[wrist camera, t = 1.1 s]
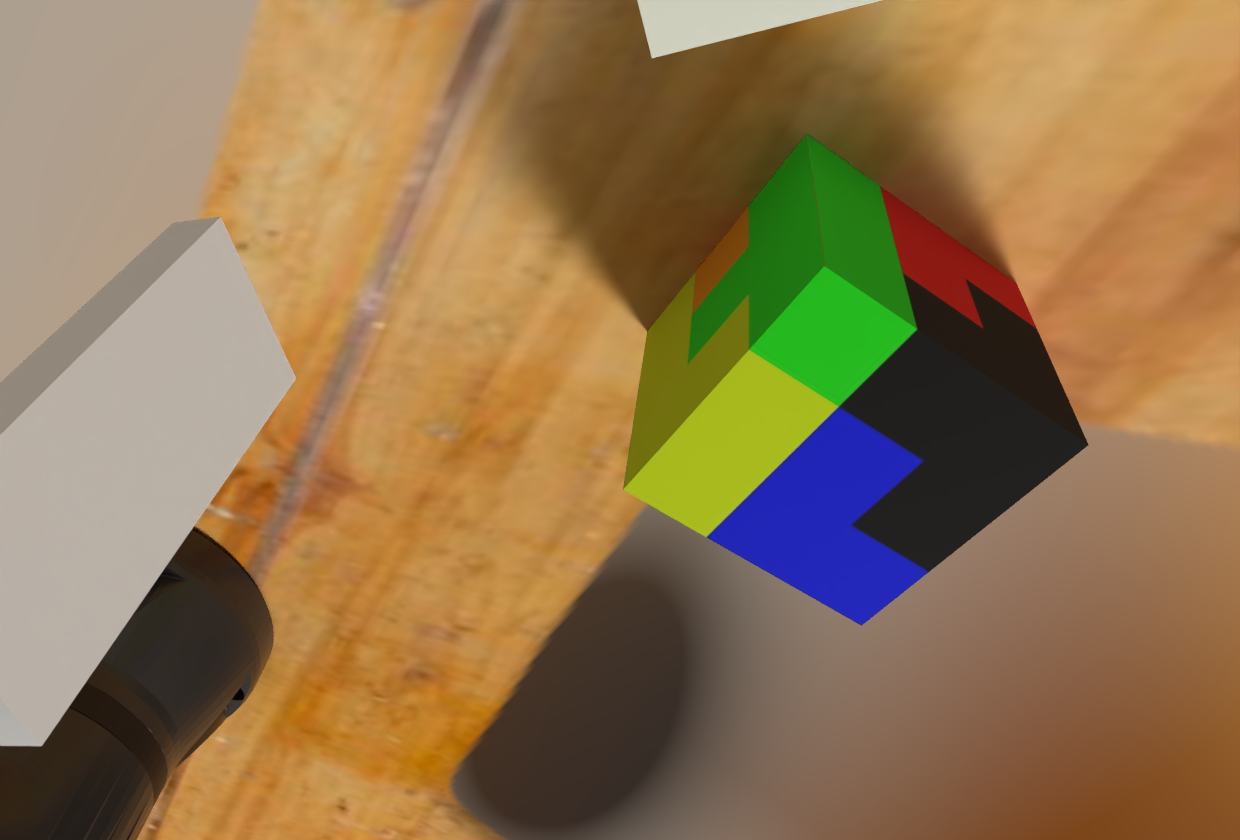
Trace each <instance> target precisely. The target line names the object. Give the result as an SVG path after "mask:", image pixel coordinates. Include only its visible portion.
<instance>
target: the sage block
mask: <svg viewBox="0 0 1240 840" xmlns="http://www.w3.org/2000/svg"><path fill="white" fill-rule="evenodd" d="M637 1H638V5H639V9H640V13H641V17H642V21H643V25H644V29H645V33H646V37H647V41H648V45H649V49H650V53H651V57H652V58H655V57H659V56H663V55H667V54H671V53H675V52H679V51H683V50H687V49H691V48H695V47H699V46H703V45H707V44H711V43H715V42H719V41H723V40H727V39H731V38H735V37H739V36H743V35H747V34H751V33H754V32H758V31H762V30H766V29H770V28H774V27H778V26H782V25H786V24H790V23H794V22H798V21H802V20H806V19H810V18H814V17H818V16H822V15H826V14H830V13H834V12H838V11H842V10H846V9H850V8H854V7H858V6H862V5H865V4H869V3H873V2H877V1H881V0H637Z"/></svg>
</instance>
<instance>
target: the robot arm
mask: <svg viewBox="0 0 1240 840" xmlns="http://www.w3.org/2000/svg"><path fill="white" fill-rule="evenodd" d="M295 379H296V377H295V375H294V373H293V371H292V369H291V366H290V364H289V362H288V360H287V358H286V356H285V354H284V351H283V349H282V347H281V345H280V343H279V341H278V339H277V336H276V334H275V332H274V330H273V328H272V326H271V324H270V321H269V319H268V317H267V315H266V313H265V311H264V309H263V306H262V304H261V302H260V300H259V298H258V296H257V294H256V291H255V289H254V287H253V285H252V283H251V281H250V279H249V276H248V274H247V272H246V270H245V268H244V266H243V264H242V261H241V259H240V257H239V255H238V253H237V251H236V249H235V246H234V244H233V242H232V240H231V238H230V236H229V234H228V231H227V229H226V227H225V225H224V223H223V221H222V218H221V217H215V218H208V219H200V220H192V221H185V222H177V223H173V224H171V225H170V226H169V227H168V228H167V229H166V230H165V231H164V232H163V233H162V234H161V235H160V236H159V237H158V238H157V239H155V240H154V241H153V242H152V243H151V244H150V245H149V246H148V247H147V248H146V249H145V250H143V251H142V252H141V253H140V254H139V255H138V256H137V257H136V258H135V259H134V260H133V261H131V262H130V263H129V264H128V265H127V266H126V267H125V268H124V269H123V270H122V271H121V272H120V273H119V274H117V275H116V276H115V277H114V278H113V279H112V280H111V281H110V282H109V283H108V284H107V285H106V286H104V287H103V288H102V289H101V290H100V291H99V292H98V293H97V294H96V295H95V296H94V297H93V298H92V299H90V300H89V301H88V302H87V303H86V304H85V305H84V306H83V307H82V308H81V309H80V310H79V311H77V313H75V314H74V315H73V316H72V317H71V318H70V319H69V320H68V321H67V322H66V323H65V324H63V325H62V326H61V327H60V328H59V329H58V330H57V331H56V332H55V333H54V334H53V335H52V336H50V337H49V338H48V339H47V340H46V341H45V342H44V343H43V344H42V345H41V346H40V347H39V348H37V349H36V350H35V351H34V352H33V353H32V354H31V355H30V356H29V357H28V358H27V359H26V360H25V361H23V363H21V364H20V365H19V366H18V367H17V368H16V369H15V370H14V371H13V372H12V373H10V374H9V375H8V376H7V377H6V378H5V379H4V380H3V381H2V382H1V383H0V840H137V838H138V836H139V834H140V832H141V830H142V828H143V826H144V824H145V822H146V820H147V818H148V816H149V815H150V812H151V810H152V808H153V806H154V804H155V802H156V800H157V799H158V797H159V795H160V793H161V791H162V789H163V788H164V786H165V784H166V782H167V780H168V778H169V777H170V775H171V774H172V773H173V772H174V771H175V770H176V769H177V768H178V767H179V766H180V765H181V764H182V763H183V762H184V761H185V760H186V759H187V758H188V757H189V756H190V755H191V754H192V753H193V752H194V751H195V750H196V749H197V748H198V747H199V746H200V745H201V744H202V743H203V742H204V741H205V740H206V739H207V738H208V737H209V736H210V735H211V734H212V733H213V732H214V731H215V730H216V729H217V728H218V727H219V726H220V725H221V724H222V723H223V722H224V720H225V719H226V718H227V717H229V716H230V715H232V714H233V713H234V712H235V711H236V710H237V709H238V708H239V707H240V706H241V705H242V704H243V703H244V702H245V701H246V699H247V698H248V696H249V695H250V694H251V692H252V691H253V689H254V687H255V685H256V683H257V681H258V679H259V677H260V675H261V673H262V671H263V669H264V667H265V665H266V663H267V661H268V659H269V656H270V654H271V650H272V646H273V625H272V620H271V617H270V613H269V610H268V608H267V605H266V603H265V601H264V599H263V597H262V595H261V594H260V592H259V590H258V589H257V587H256V586H255V584H254V583H253V582H252V580H251V579H250V578H249V577H248V575H247V574H246V573H245V572H244V571H243V570H242V569H241V567H240V566H239V565H238V564H237V563H236V562H235V561H234V560H233V559H232V558H230V557H229V556H228V555H227V554H226V553H225V552H224V551H222V550H221V549H220V548H219V547H217V546H216V545H215V544H213V543H212V542H210V541H209V540H208V539H206V538H205V537H203V536H202V535H200V534H198V533H197V532H195V531H194V530H192V528H193V527H194V525H195V524H196V522H197V521H198V520H199V518H200V517H201V515H202V514H203V512H204V511H205V509H206V508H207V507H208V505H209V504H210V502H211V501H212V499H213V498H214V496H215V495H216V494H217V492H218V491H219V489H220V488H221V486H222V485H223V483H224V482H225V481H226V479H227V478H228V476H229V475H230V473H231V472H232V470H233V469H234V468H235V466H236V465H237V463H238V462H239V460H240V459H241V457H242V456H243V455H244V453H245V452H246V450H247V449H248V447H249V446H250V444H251V443H252V442H253V440H254V439H255V437H256V436H257V434H258V433H259V431H260V430H261V429H262V427H263V426H264V424H265V423H266V421H267V420H268V418H269V417H270V415H271V414H272V413H273V411H274V410H275V408H276V407H277V405H278V404H279V402H280V401H281V400H282V398H283V397H284V395H285V394H286V392H287V391H288V389H289V388H290V387H291V385H292V384H293V382H294V381H295Z"/></svg>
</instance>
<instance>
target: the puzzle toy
mask: <svg viewBox="0 0 1240 840" xmlns="http://www.w3.org/2000/svg"><path fill="white" fill-rule="evenodd" d="M1086 446H1088V443H1087V441H1086V438H1085V436H1084V434H1083V432H1082V429H1081V427H1080V425H1079V423H1078V420H1077V418H1076V416H1075V414H1074V411H1073V409H1072V407H1071V405H1070V402H1069V400H1068V398H1067V396H1066V393H1065V391H1064V389H1063V387H1062V384H1061V382H1060V380H1059V378H1058V375H1057V373H1056V371H1055V369H1054V366H1053V364H1052V362H1051V360H1050V357H1049V355H1048V353H1047V351H1046V348H1045V346H1044V344H1043V342H1042V339H1041V337H1040V335H1039V333H1038V331H1037V328H1036V326H1035V324H1034V322H1033V319H1032V317H1031V315H1030V313H1029V310H1028V308H1027V306H1026V304H1025V301H1024V299H1023V297H1022V295H1021V292H1020V290H1019V288H1018V286H1017V284H1016V283H1015V282H1013V281H1012V280H1010V279H1009V278H1008V277H1006V276H1005V275H1003V274H1002V273H1001V272H999V271H998V270H996V269H995V268H994V267H992V266H991V265H989V264H988V263H987V262H985V261H984V260H982V259H981V258H980V257H978V256H977V255H975V254H974V253H973V252H971V251H970V250H969V249H967V248H966V247H964V246H963V245H962V244H960V243H959V242H957V241H956V240H955V239H953V238H952V237H950V236H949V235H948V234H946V233H945V232H943V231H942V230H941V229H939V228H938V227H936V226H935V225H934V224H932V223H931V222H929V221H928V220H927V219H925V218H924V217H922V216H921V215H920V214H918V213H917V212H915V211H914V210H913V209H911V208H910V207H908V206H907V205H906V204H904V203H903V202H901V201H900V200H899V199H897V198H896V197H894V196H893V195H892V194H890V193H889V192H888V191H886V190H885V189H883V188H882V187H881V186H879V185H878V184H876V183H875V182H874V181H872V180H871V179H869V178H868V177H867V176H865V175H864V174H862V173H861V172H860V171H858V170H857V169H855V168H854V167H853V166H851V165H850V164H848V163H847V162H846V161H844V160H843V159H841V158H840V157H839V156H837V155H836V154H834V153H833V152H832V151H830V150H829V149H827V148H826V147H825V146H823V145H822V144H820V143H819V142H818V141H816V140H815V139H814V138H812V137H811V136H809V135H808V134H807V135H806V136H805V137H804V138H803V140H802V141H801V142H800V143H799V144H798V146H797V147H796V148H795V149H794V151H793V152H792V153H791V154H790V156H789V157H788V158H787V159H786V161H785V162H784V163H783V164H782V165H781V167H780V168H779V169H778V170H777V172H776V173H775V174H774V175H773V177H772V178H771V179H770V180H769V182H768V183H767V184H766V185H765V186H764V188H763V189H762V190H761V191H760V193H759V194H758V195H757V196H756V198H755V199H754V200H753V201H752V203H751V204H750V205H749V206H748V208H747V209H746V210H745V211H744V212H743V214H742V215H741V216H740V217H739V219H738V220H737V221H736V222H735V224H734V225H733V226H732V227H731V229H730V230H729V231H728V232H727V233H726V235H725V236H724V237H723V238H722V240H721V241H720V242H719V243H718V245H717V246H716V247H715V248H714V250H713V251H712V252H711V253H710V255H709V256H708V257H707V258H706V259H705V261H704V262H703V263H702V264H701V266H700V267H699V268H698V269H697V271H696V272H695V273H694V274H693V276H692V277H691V278H690V279H689V280H688V282H687V283H686V284H685V285H684V287H683V288H682V289H681V290H680V292H679V293H678V294H677V295H676V297H675V298H674V299H673V300H672V301H671V303H670V304H669V305H668V306H667V308H666V309H665V310H664V311H663V313H662V314H661V315H660V316H659V318H658V319H657V320H656V321H655V323H654V324H653V325H652V326H651V327H650V329H649V330H648V331H647V337H646V343H645V350H644V356H643V363H642V369H641V376H640V382H639V389H638V396H637V402H636V409H635V415H634V422H633V428H632V435H631V441H630V448H629V454H628V461H627V467H626V474H625V481H624V487H623V490H624V491H626V492H628V493H630V494H631V495H633V496H635V497H637V498H638V499H640V500H642V501H644V502H645V503H647V504H649V505H651V506H652V507H654V508H656V509H658V510H659V511H661V512H663V513H665V514H666V515H668V516H670V517H672V518H673V519H675V520H677V521H679V522H681V523H682V524H684V525H686V526H688V527H689V528H691V529H693V530H695V531H696V532H698V533H700V534H702V535H703V536H705V537H707V538H709V539H711V540H712V541H714V542H716V543H717V544H719V545H721V546H723V547H724V548H726V549H728V550H730V551H731V552H733V553H735V554H737V555H738V556H741V557H742V558H744V559H745V560H747V561H749V562H751V563H753V564H754V565H756V566H758V567H760V568H761V569H763V570H765V571H767V572H768V573H770V574H772V575H774V576H775V577H777V578H779V579H781V580H782V581H784V582H786V583H788V584H790V585H791V586H793V587H795V588H796V589H798V590H800V591H802V592H803V593H805V594H807V595H809V596H811V597H812V598H814V599H816V600H818V601H819V602H821V603H823V604H825V605H826V606H828V607H830V608H832V609H833V610H835V611H837V612H839V613H840V614H842V615H844V616H846V617H847V618H849V619H851V620H853V621H854V622H856V623H858V624H860V625H863V624H864V623H865V622H866V621H868V620H869V619H870V618H871V617H873V616H874V615H875V614H877V613H878V612H879V611H880V610H881V609H883V608H884V607H885V606H887V605H888V604H889V603H890V602H891V601H893V600H894V599H895V598H897V597H898V596H899V595H900V594H902V593H903V592H904V591H905V590H907V589H908V588H909V587H910V586H912V585H913V584H914V583H916V582H917V581H918V580H919V579H920V578H922V577H923V576H924V575H925V574H927V573H928V572H929V571H931V570H932V569H933V568H934V567H936V566H937V565H938V564H939V563H941V562H942V561H943V560H944V559H946V558H947V557H948V556H949V555H951V554H952V553H953V552H954V551H956V550H957V549H958V548H960V547H961V546H962V545H963V544H965V543H966V542H967V541H968V540H970V539H971V538H972V537H973V536H975V535H976V534H977V533H978V532H980V531H981V530H982V529H983V528H985V527H986V526H987V525H988V524H990V523H991V522H992V521H993V520H995V519H996V518H997V517H999V516H1000V515H1001V514H1002V513H1004V512H1005V511H1006V510H1007V509H1009V508H1010V507H1011V506H1012V505H1014V504H1015V503H1016V502H1017V501H1019V500H1020V499H1021V498H1022V497H1024V496H1025V495H1026V494H1027V493H1029V492H1030V491H1031V490H1032V489H1034V488H1035V487H1036V486H1037V485H1039V484H1040V483H1041V482H1043V481H1044V480H1045V479H1046V478H1048V476H1050V475H1051V474H1052V473H1054V472H1055V471H1056V470H1057V469H1059V468H1060V467H1061V466H1063V465H1064V464H1065V463H1066V462H1068V461H1069V460H1070V459H1071V458H1073V457H1074V456H1075V455H1076V454H1078V453H1079V452H1080V451H1081V450H1083V449H1084V448H1085V447H1086Z"/></svg>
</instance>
